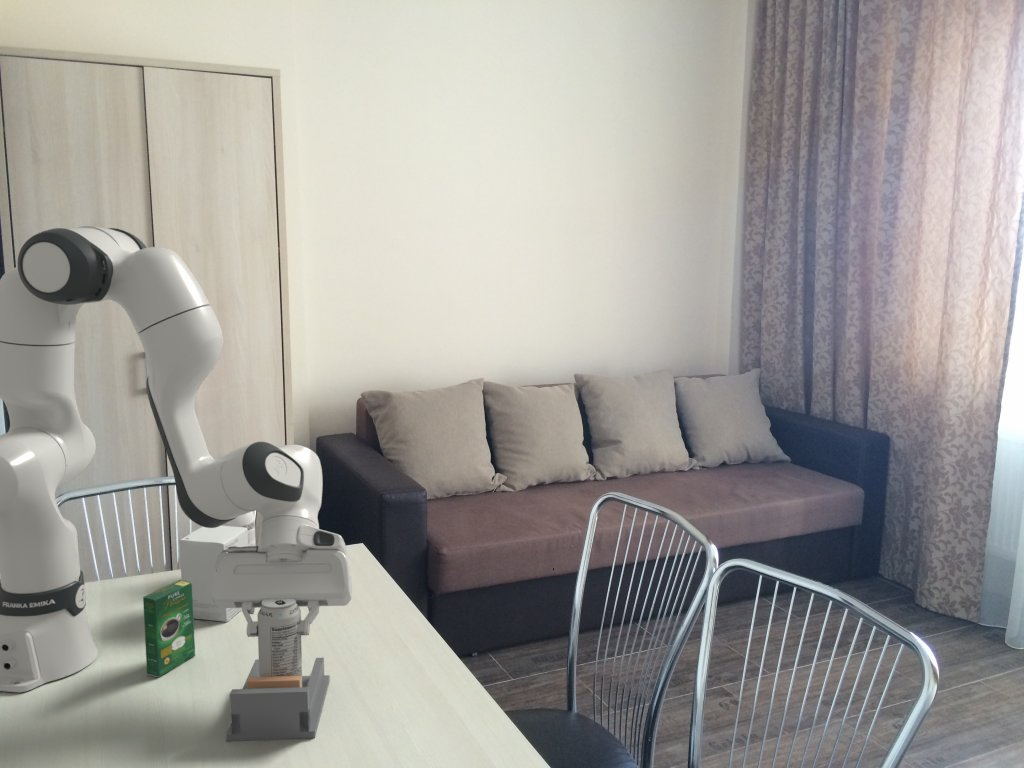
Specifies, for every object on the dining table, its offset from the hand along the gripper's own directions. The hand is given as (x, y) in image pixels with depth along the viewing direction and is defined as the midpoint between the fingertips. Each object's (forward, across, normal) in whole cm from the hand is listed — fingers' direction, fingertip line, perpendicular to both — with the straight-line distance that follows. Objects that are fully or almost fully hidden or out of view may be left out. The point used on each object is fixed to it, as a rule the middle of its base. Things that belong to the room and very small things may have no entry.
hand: (277, 635), depth 121 cm
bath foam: (-27, -18, +44) cm, 55 cm away
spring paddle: (+10, 0, +5) cm, 11 cm away
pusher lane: (+8, 0, +8) cm, 12 cm away
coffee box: (-2, -20, +19) cm, 27 cm away
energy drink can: (+7, 0, +7) cm, 10 cm away
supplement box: (-16, -18, +33) cm, 40 cm away
